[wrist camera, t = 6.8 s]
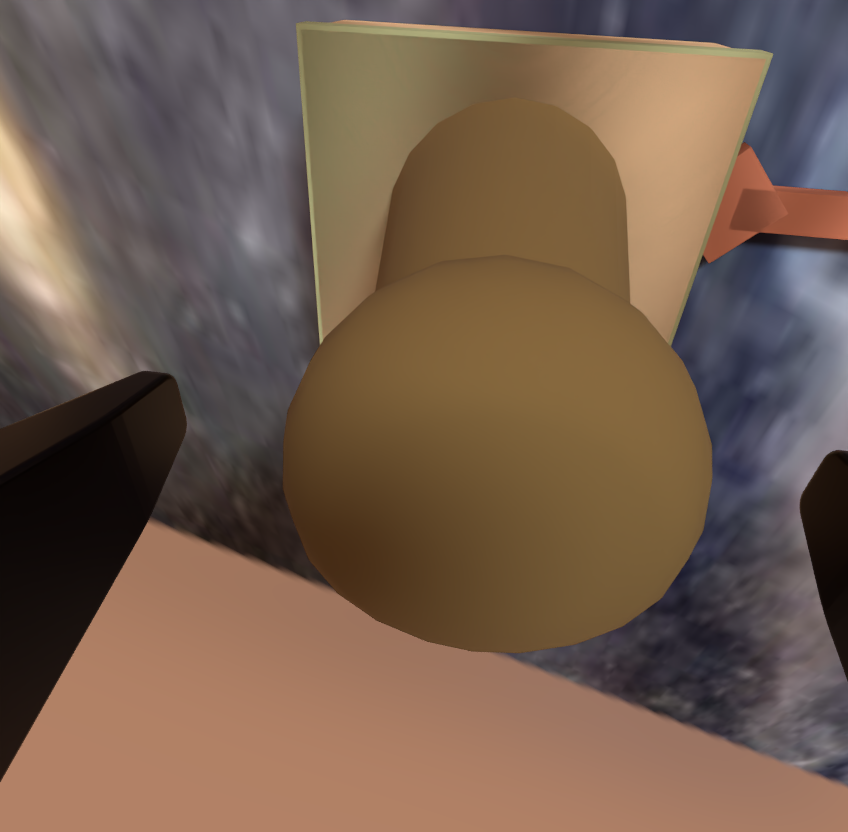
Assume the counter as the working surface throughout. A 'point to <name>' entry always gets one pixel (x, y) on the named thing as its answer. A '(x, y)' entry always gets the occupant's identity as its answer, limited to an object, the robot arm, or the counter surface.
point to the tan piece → (573, 93)
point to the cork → (500, 403)
